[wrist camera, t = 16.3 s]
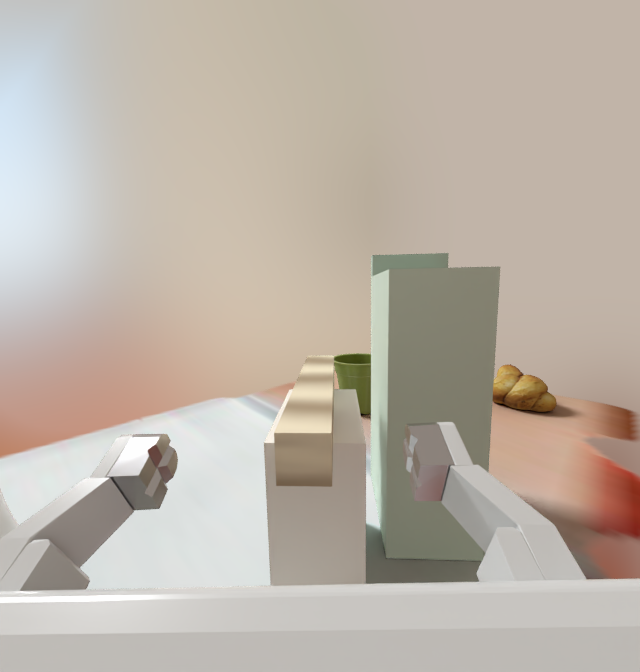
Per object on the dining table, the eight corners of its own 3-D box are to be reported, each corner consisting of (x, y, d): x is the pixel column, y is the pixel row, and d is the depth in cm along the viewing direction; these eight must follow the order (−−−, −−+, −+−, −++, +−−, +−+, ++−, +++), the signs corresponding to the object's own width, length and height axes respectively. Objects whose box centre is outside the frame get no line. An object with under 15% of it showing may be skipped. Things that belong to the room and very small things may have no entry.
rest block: (365, 633, 24) (365, 443, 21) (272, 629, 24) (264, 442, 22) (356, 518, 35) (355, 389, 33) (294, 517, 36) (289, 389, 34)
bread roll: (564, 411, 65) (568, 373, 64) (536, 420, 61) (539, 380, 60) (504, 394, 76) (506, 361, 75) (477, 400, 72) (479, 366, 71)
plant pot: (392, 403, 71) (392, 354, 70) (380, 423, 61) (381, 366, 59) (342, 397, 76) (341, 351, 74) (323, 415, 65) (322, 361, 64)
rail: (332, 486, 17) (331, 433, 16) (276, 485, 17) (273, 432, 17) (334, 380, 37) (333, 355, 36) (308, 381, 37) (307, 355, 36)
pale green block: (483, 560, 30) (502, 234, 26) (386, 558, 30) (389, 238, 26) (436, 474, 43) (444, 254, 39) (370, 474, 44) (371, 256, 40)
